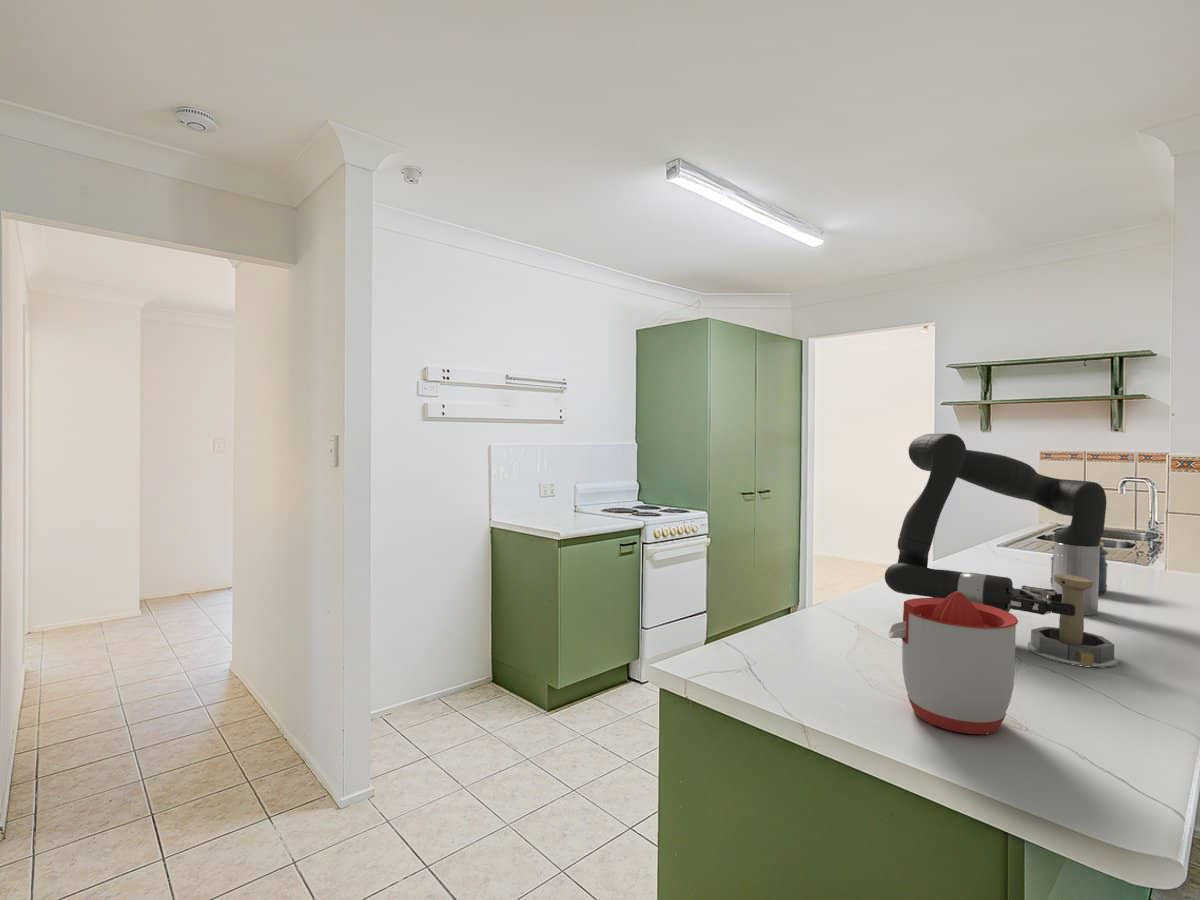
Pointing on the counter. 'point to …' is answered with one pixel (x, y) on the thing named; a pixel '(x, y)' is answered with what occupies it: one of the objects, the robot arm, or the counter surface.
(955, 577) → the robot arm
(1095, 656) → the grey shallow octagonal dish
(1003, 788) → the counter surface
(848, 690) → the counter surface
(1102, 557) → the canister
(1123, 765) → the counter surface
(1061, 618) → the handle
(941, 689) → the citrus juicer
